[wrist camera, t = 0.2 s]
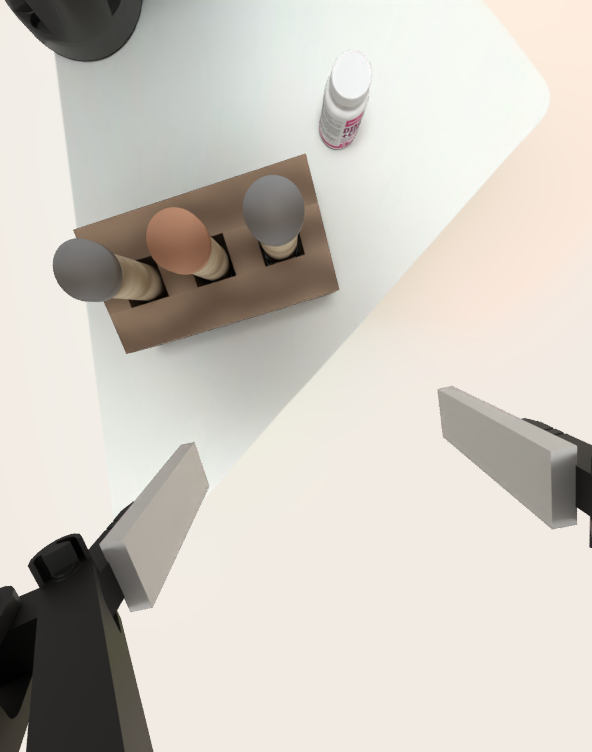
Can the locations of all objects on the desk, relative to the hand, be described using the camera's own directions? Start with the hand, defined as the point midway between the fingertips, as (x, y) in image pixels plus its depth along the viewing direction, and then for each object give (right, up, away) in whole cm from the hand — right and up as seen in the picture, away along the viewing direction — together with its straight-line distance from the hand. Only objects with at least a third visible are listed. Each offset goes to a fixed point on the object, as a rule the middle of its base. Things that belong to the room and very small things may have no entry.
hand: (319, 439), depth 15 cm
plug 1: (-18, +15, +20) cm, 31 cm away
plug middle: (-11, +17, +19) cm, 28 cm away
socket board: (-11, +18, +24) cm, 32 cm away
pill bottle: (+4, +34, +21) cm, 40 cm away
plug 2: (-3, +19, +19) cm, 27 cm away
